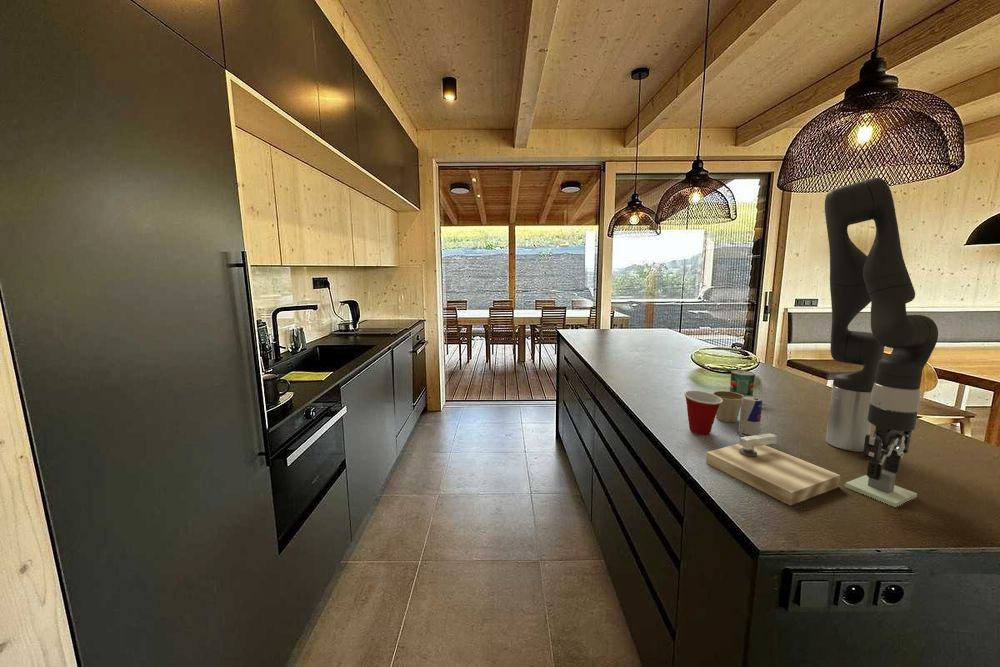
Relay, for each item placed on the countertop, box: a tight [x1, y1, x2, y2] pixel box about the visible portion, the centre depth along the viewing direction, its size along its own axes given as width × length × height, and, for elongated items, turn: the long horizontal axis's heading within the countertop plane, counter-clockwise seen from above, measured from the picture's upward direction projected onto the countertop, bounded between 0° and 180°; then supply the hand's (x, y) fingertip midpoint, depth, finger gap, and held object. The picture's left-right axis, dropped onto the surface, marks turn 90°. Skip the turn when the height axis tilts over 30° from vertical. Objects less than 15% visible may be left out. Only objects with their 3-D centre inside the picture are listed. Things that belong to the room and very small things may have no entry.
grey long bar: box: [738, 432, 778, 453], centre depth 102 cm, size 2×10×4 cm, turn 105°
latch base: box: [705, 443, 841, 506], centre depth 97 cm, size 18×21×4 cm
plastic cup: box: [684, 390, 723, 436], centre depth 122 cm, size 11×11×12 cm
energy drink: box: [738, 395, 763, 437], centre depth 119 cm, size 5×5×12 cm
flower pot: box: [712, 390, 743, 423], centre depth 133 cm, size 9×9×9 cm
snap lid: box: [844, 468, 918, 508], centre depth 89 cm, size 9×9×6 cm
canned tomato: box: [729, 369, 756, 396], centre depth 153 cm, size 8×8×11 cm
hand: (882, 474), depth 89 cm, fingers open, 7 cm apart
